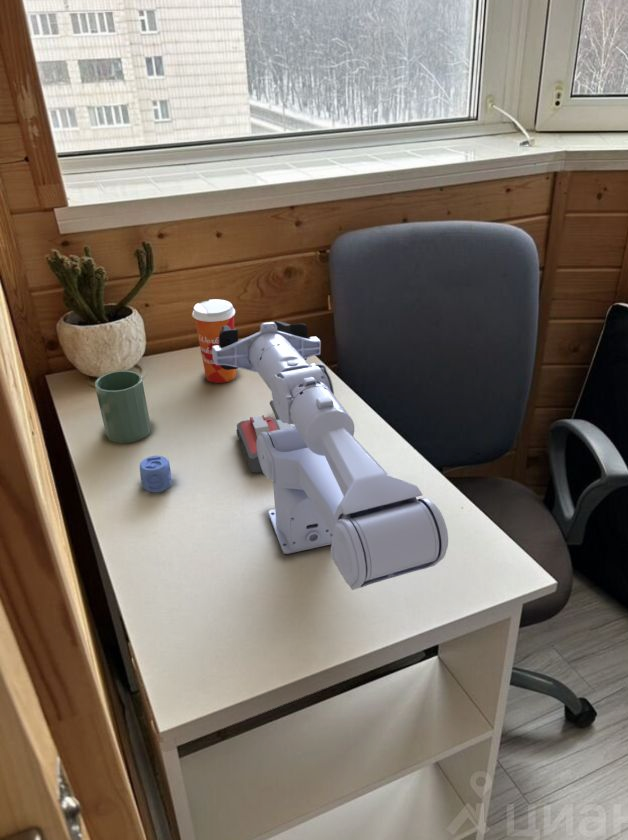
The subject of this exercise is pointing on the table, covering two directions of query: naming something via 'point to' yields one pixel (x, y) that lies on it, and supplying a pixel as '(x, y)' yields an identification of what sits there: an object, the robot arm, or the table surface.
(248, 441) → the walkie-talkie
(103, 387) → the pencil cup
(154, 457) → the decorative dice
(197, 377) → the table surface
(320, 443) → the robot arm
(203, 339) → the paper cup
